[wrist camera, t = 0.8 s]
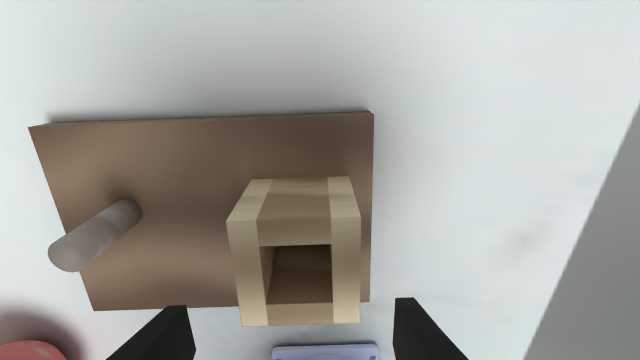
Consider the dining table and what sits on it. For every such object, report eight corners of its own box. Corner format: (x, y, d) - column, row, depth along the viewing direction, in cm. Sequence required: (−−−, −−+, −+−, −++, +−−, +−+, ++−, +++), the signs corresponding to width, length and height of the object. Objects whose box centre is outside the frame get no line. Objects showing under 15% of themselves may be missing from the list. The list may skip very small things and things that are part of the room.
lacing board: (365, 286, 21) (383, 365, 15) (108, 295, 21) (32, 376, 16) (369, 111, 17) (394, 130, 11) (51, 122, 17) (-79, 147, 12)
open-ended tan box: (349, 259, 19) (359, 322, 14) (261, 262, 19) (242, 326, 14) (348, 176, 17) (361, 216, 12) (251, 179, 17) (225, 221, 12)
